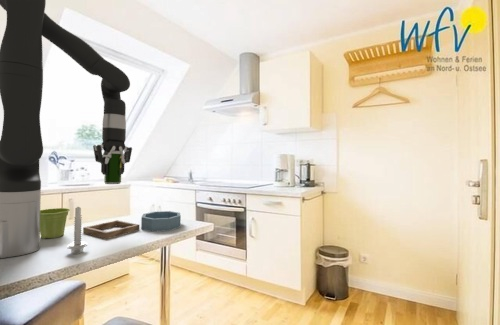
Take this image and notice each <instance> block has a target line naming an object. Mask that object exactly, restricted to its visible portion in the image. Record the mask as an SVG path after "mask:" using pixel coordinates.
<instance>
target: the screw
mask: <svg viewBox="0 0 500 325" xmlns="http://www.w3.org/2000/svg"><path fill="white" fill-rule="evenodd" d="M74 209H75V210H74V211H75V213H74V217H73V218H74V219H73V220H74V221H73V222H74V223H73V224H74V225H73V228H74V230H73V233H74V234H73V242H71V243H69V244H68V245H67V246H66V248H67V249H70V251H71V252H70V253H71V254H73V255H76V254H77V255H78V254H81V253H84V248H86V247H88V243H87V242H86V241H82V233H83V231H82V230H83V228H82V220H83V219H82V216H83V215H82V214H81V213H82V208H81V207H80V206H76V207H75V208H74Z"/></svg>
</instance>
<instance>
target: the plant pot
mask: <svg viewBox="0 0 500 325" xmlns="http://www.w3.org/2000/svg"><path fill="white" fill-rule="evenodd" d="M70 210H71V209H70V208H67V207H66V208H65V207H63V208H62V207H58V208H57V207H54V208H46V209H40V239H43V240H44V239H55V238H60V237H62V236H63V235H64V234H65V228H66V223H67V218H68V215H69V212H70Z"/></svg>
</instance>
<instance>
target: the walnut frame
mask: <svg viewBox="0 0 500 325" xmlns="http://www.w3.org/2000/svg"><path fill="white" fill-rule="evenodd" d="M114 227H119V228H117V229H114V230H109V231H107V230H106V231H105V229H110V228H114ZM82 230H83V231H82V233H83V234H86V235H90V236H93V237H97V238H101V239H105V240H108V239H113V238H115V237H119V236H123V235H126V234H130V233H133V232H136V231H137V232H138V231H140V224H137V223H133V222H129V221H128V222H127V221H123V220H111V221H106V222H101V223H97V224H93V225H89V226H84V227H83V228H82Z"/></svg>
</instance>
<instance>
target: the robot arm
mask: <svg viewBox="0 0 500 325" xmlns="http://www.w3.org/2000/svg"><path fill="white" fill-rule="evenodd" d="M46 3H47V2H46V0H0V7H2V9H3V10H4V11H6V25H5V28H4V29H5V30H4V33H3V36H2V40H1V43H0V99H1V103H2V110H3V121H2V130H1V136H0V259H4V258H10V257H11V258H12V257H17V256H24V255H28V254H31V253H34V252H36V251H38V250H39V249H40V247H41V246H40V244H41V235H40V210H41V199H42V198H41V190H42V180H41V176H40V159H41V158H42V157H43V153H44V144H43V137H42V130H41V129H42V128H41V118H40V116H41V107H42V98H43V85H44V65H43V64H44V63H43V62H44V61H43V56H44V55H43V37H44V38H45V39H46V40H48V42H50V43H52V44H53V45H54V46H56V47H57V48H58V49H59V50H61V51H62V52H64V53H65V54H66V55H67V56H68V57H70V58H71V59H72V60H74V62H76V63H77V64H78V65H79V66H80V67H82V69H84V70H85V71H86V72H88V73H89V74H91V75H92V76H98V77H100V78H101V82H100V89H101V94H102V100H103V116H102V117H103V118H102V131H101V132H102V133H101V136H102V137H101V139H102V142H101V144H94V145H93V146H92V148H93V152H94V153H93V154H94V159H95V162H97V163H99V164H100V172H101V174H102V175H103V176H105V175H107V174H108V164H107V163H108V161H109V159H110V158H111V155H110V154H111V152H113V151H121V153H122V166H121V175H123V174H124V172H125V164H127V163H130V162H131V157H132V156H131V155H132V151H133V148H132V147H131V146H126V144H125V141H126V132H127V129H126V128H127V120H126V110H127V109H126V108H127V107H126V102H125V101H124V100H123V99H122V98H121V93H124V92H126V91H128V89H129V88H130V86H131V81H130V79H129V77H128V75H127V74H126V73H125V72H124V71H123V70H122V69H121V68H119V67H117V66H116V65H115V64H113V63H112V62H109V61H108V60H106V59H105V58H104V57H103V56H102V55H101V54H100V53H98V51H97V50H95V49H94V48H93V47H92V46H91V45H90V44H89V43H88V42H86V40H83V38H81V37H80V36H77V35H76V34H74V33H72V32H70V31H69V30H67V29H65V28H63V27H62V26H61V25H60V24H59V23H56V22H55V21H54V20H53V19H52V18H51V17H50V16H49V15H48V14H47V13H46V12H45V10H46V5H47V4H46ZM105 153H108V155H105Z"/></svg>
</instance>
